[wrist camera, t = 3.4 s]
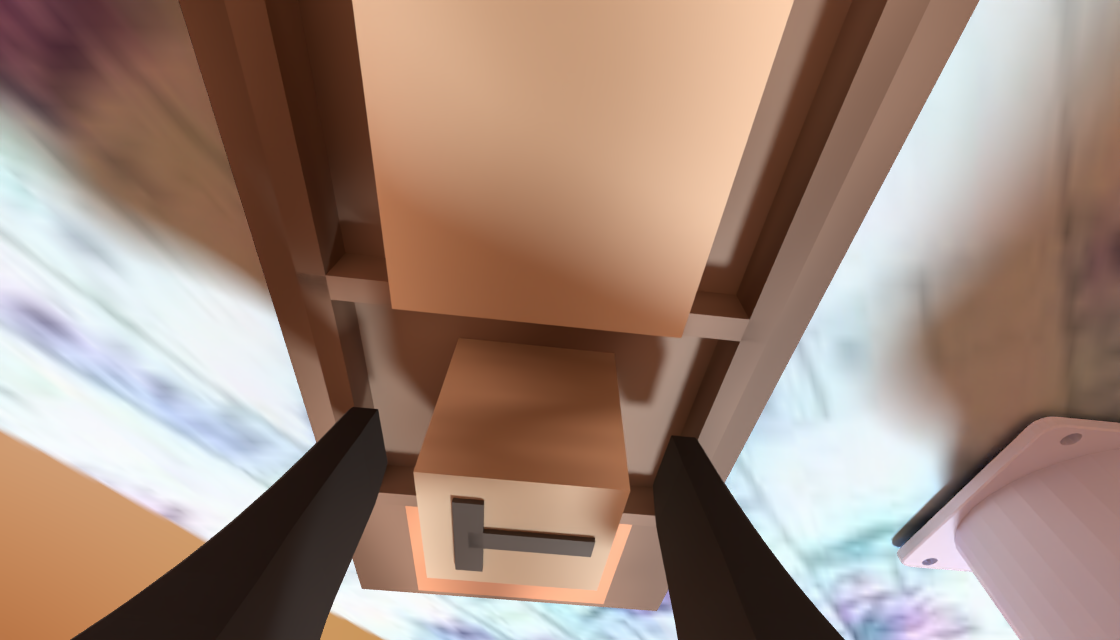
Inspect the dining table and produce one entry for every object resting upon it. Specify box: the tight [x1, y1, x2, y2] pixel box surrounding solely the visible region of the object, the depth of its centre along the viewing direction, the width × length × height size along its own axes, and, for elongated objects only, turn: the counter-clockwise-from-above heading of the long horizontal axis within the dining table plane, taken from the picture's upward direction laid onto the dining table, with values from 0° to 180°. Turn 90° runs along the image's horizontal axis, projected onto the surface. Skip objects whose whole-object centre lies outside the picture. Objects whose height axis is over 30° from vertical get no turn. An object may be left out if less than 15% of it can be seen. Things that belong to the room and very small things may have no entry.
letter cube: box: [413, 338, 630, 591], centre depth 11 cm, size 4×4×4 cm
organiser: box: [179, 0, 979, 611], centre depth 12 cm, size 13×25×2 cm, turn 174°
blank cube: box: [352, 0, 794, 338], centre depth 7 cm, size 4×4×4 cm
